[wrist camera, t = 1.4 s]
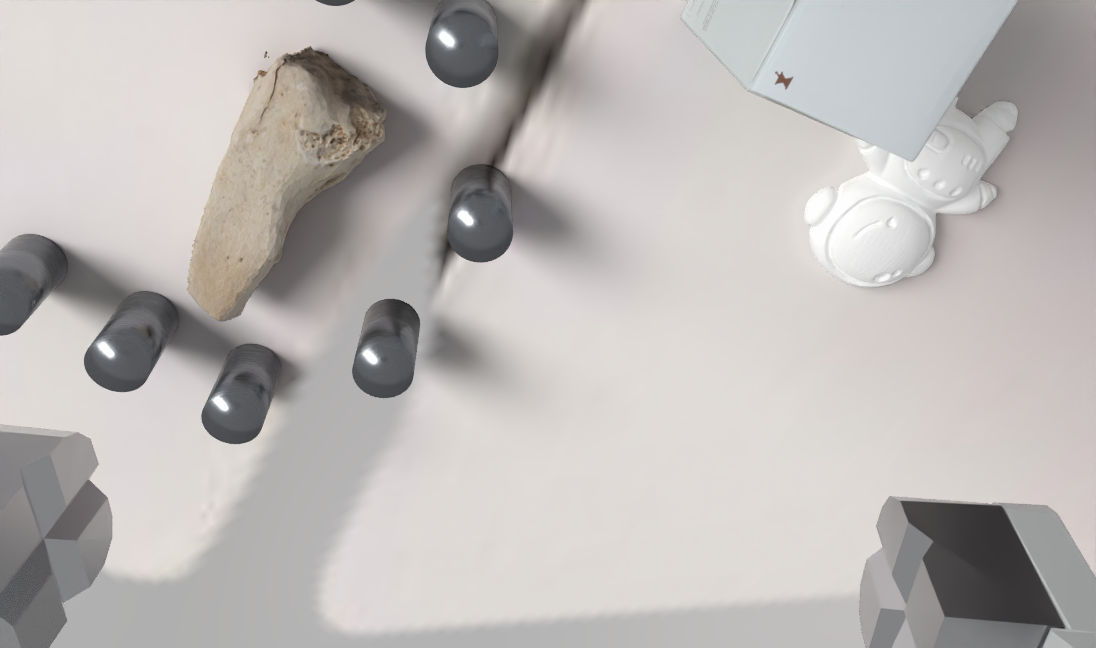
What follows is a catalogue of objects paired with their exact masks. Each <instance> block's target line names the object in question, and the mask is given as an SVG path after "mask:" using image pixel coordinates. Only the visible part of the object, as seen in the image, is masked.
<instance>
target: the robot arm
mask: <svg viewBox="0 0 1096 648" xmlns="http://www.w3.org/2000/svg"><path fill="white" fill-rule="evenodd" d="M98 465H99V464H98V460H97V457H96V454H95V451H94V448H93V445H92V442H91V439H90V438H88V437H86V436H84V435H82V434H80V433H78V432H70V431H60V430H51V429H41V428H31V427H21V426H11V425H1V424H0V648H49V647H50V645H51V644H52V642H53V641H54V640H55V638H56V637H57V635H58V634H59V632H60V631H61V629H62V628H63V626H64V625H65V623H66V622H67V617H66V612H65V606H64V602H65V601H67V600H69V599H70V598H72V597H74V596H75V595H77V594H79V593H80V592H82V591H84V590H85V589H87V588H89V587H90V586H91V584H92V583H93V581H94V580H95V578H96V577H97V575H98V574H99V572H100V570H101V569H102V567H103V566H104V563H105V560H106V557H107V553H108V550H109V547H110V543H111V540H112V513H111V509H110V505H109V501H108V498H107V497H106V496H105V495H104V494H103V493H102V492H101V491H100V490H99V489H98V488H97V487H96V486H95V485H94V484H93V483H92V482H91V481H90V480H89V479H90V477H91V476H92V474H93V472H94V471H95V469H96V468H97V466H98ZM876 527H877V530H878V534H879V537H880V540H881V543H882V546H883V548H881V549H880V550H879V551H877V552H876V553H875V554H873V555H872V556H871V557H869V558H868V559H867V560H866V564H865V568H864V572H863V576H862V580H861V584H860V602H859V603H860V605H859V615H860V623H861V631H862V636H863V639H864V643H865V647H866V648H1096V577H1095V575H1094V574H1093V572H1092V570H1091V569H1090V567H1089V565H1088V564H1087V562H1086V560H1085V559H1084V557H1083V555H1082V554H1081V552H1080V550H1079V549H1078V547H1077V545H1076V544H1075V542H1074V540H1073V539H1072V537H1071V535H1070V534H1069V532H1068V530H1067V529H1066V527H1065V525H1064V524H1063V522H1062V520H1061V519H1060V517H1059V515H1058V514H1057V512H1055V511H1054V510H1052V509H1051V508H1049V507H1048V506H1047V505H1031V504H1013V503H995V502H994V503H992V504H988V503H977V502H963V501H950V500H936V499H922V498H908V497H895V496H889V498H888V499H887V501H886V502H885V504H884V505H883V507H882V509H881V512H880V516H879V519H878V522H877V525H876Z"/></svg>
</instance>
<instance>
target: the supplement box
mask: <svg viewBox="0 0 1096 648" xmlns="http://www.w3.org/2000/svg"><path fill="white" fill-rule="evenodd" d="M1018 1H1019V0H689V1H688V3H687V5H686V7H685V10H684V11H683V13H682V15H681V20H682V21H683V22H684V23H685V24H686V25H687V26H688V27H689V29H690V30H691V31H692V32H693V33H694V34H695V35H696V36H697V37H698V38H699V39H700V40H701V41H702V42H703V43H704V45H705V46H706V47H707V48H708V49H709V50H710V51H711V52H712V53H713V54H714V55H715V56H716V58H717V59H718V60H719V61H720V62H721V63H722V64H723V65H724V66H725V67H726V68H727V69H728V71H729V72H730V73H731V74H732V75H733V76H734V77H735V78H736V79H737V80H738V81H739V82H740V83H741V85H742V86H743V87H744V88H745V89H746V90H747V91H749V92H751V93H753V94H756V95H758V96H760V97H762V98H765V99H767V100H769V101H772V102H774V103H776V104H779V105H781V106H783V107H786V108H788V109H790V110H793V111H795V112H797V113H799V114H802V115H804V116H806V117H809V118H811V119H813V120H816V121H818V122H820V123H823V124H825V125H827V126H830V127H832V128H834V129H837V130H839V131H841V132H844V133H846V134H848V135H851V136H853V137H855V138H858V139H860V140H862V141H865V142H867V143H869V144H872V145H874V146H877V147H879V148H881V149H883V150H886V151H888V152H890V153H892V154H895V155H897V156H899V157H901V158H903V159H905V160H908V161H910V162H913V161H915V159H916V158H917V156H918V155H919V153H920V152H921V150H922V149H923V147H924V145H925V144H926V142H927V141H928V139H929V138H930V136H931V135H932V133H933V131H934V130H935V128H936V127H937V125H938V124H939V122H940V120H941V119H942V117H943V116H944V114H945V113H946V111H947V110H948V108H949V107H950V105H951V104H952V102H953V101H954V99H955V98H956V96H957V94H958V93H959V91H960V90H961V88H962V87H963V85H964V84H965V82H966V81H967V79H968V77H969V76H970V74H971V73H972V71H973V70H974V68H975V67H976V65H977V64H978V62H979V60H980V59H981V57H982V56H983V54H984V53H985V51H986V50H987V48H988V47H989V45H990V43H991V42H992V40H993V39H994V37H995V36H996V34H997V33H998V31H999V30H1000V28H1001V27H1002V25H1003V24H1004V22H1005V21H1006V19H1007V18H1008V16H1009V15H1010V13H1011V12H1012V10H1013V8H1014V7H1015V5H1016V4H1017V2H1018Z"/></svg>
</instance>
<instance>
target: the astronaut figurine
mask: <svg viewBox="0 0 1096 648" xmlns="http://www.w3.org/2000/svg"><path fill="white" fill-rule="evenodd" d="M958 99H959V97H958V96H956V98H955V99H954V101H953V102H952V104H951V105H950V107H949V108H948V110H947V111H946V113H945V114H944V116H943V117H942V119H941V120H940V122H939V124H938V125H937V127H936V128H935V130H934V131H933V133H932V135H931V136H930V138H929V139H928V141H927V142H926V144H925V145H924V147H923V149H922V150H921V152H920V153H919V155H918V156H917V158H916V159H915V161H913V162H910V161H908V160H905V159H903V158H901V157H899V156H897V155H895V154H892V153H890V152H888V151H886V150H883V149H881V148H879V147H877V146H874V145H872V144H869V143H867V142H865V141H862V140H860V139H858V138H855V137H854V138H855V141H856V143H857V145H858V147H859V150H860V153H861V155H862V157H863V159H864V161H865V162H866V164H867V166H868V168H869V171H868V172H867V173H865V174H862V175H860V176H857V177H855V178H853V179H851V180H849V181H846V182H845V183H843V184H842V185H841V186H840V187H839V189H835V188H834V187H825V188H823V189H821V190H819V191H818V192H817V193H815V194H814V195H813V196H812V197H811V198H810V200H809V201H808V203H807V205H806V209H805V214H804V218H805V221H806V223H807V224H808V225H809V226H812V227H811V229H810V231H809V239H810V245H811V249H812V252H813V254H814V256H815V258H816V260H817V261H818V262H819V264H820V265H821V266H822V267H823V268H824V269H825V270H826V271H827V272H828V273H829V274H830V275H831V276H833V277H834V278H836V279H838V280H839V281H841V282H844V283H846V284H849V285H852V286H856V287H880V286H885V285H889V284H892V283H895V282H897V281H899V280H900V279H902V278H904V277H905V276H906V277H912V276H917V275H919V274H922V273H923V272H925V271H926V270H927V269H928V268H929V267H930V266H931V264H932V262H933V260H934V256H935V251H934V248H933V246H932V244H933V242H934V239H935V234H936V214H937V213H943V214H951V215H961V214H970V213H975V212H976V211H977V210H978V209H982V208H985V207H986V206H987V205H988V204H989V203H990V202H991V201H992V200H993V199H994V198H995V197H996V196H997V189H996V187H995V186H993V185H992V184H990V183H987V182H985V181H982V180H980V179H981V177H982V176H983V174H984V173H985V172H986V170H987V169H988V168H989V166H990V165H991V164H992V163H993V162H994V160H995V159H996V158H997V157H998V155H999V154H1000V153H1001V152H1002V150H1003V149H1004V147H1005V146H1006V144H1007V143H1008V141H1009V139H1010V138H1009V137H1008V136H1007V132H1008V131H1012V130H1014V128H1015V126H1016V121H1017V117H1018V109H1017V107H1016V106H1015V105H1014V104H1012V103H1011V102H1005V101H997V102H995V103H993V104H992V105H991V106H989V107H987V108H986V109H984V110H983V111H981V112H980V113H979V114H977V115H976V116H975V117H973V118H972V119H971V118H970V117H969V116H967V115H966V114H965V113H963V112H962V111H960V110H958V109H957V108H956V103H957V101H958Z"/></svg>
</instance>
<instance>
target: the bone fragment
mask: <svg viewBox="0 0 1096 648" xmlns="http://www.w3.org/2000/svg"><path fill="white" fill-rule="evenodd" d="M266 54H267V51H266V52H265V55H264V58H265V57H267V55H266ZM268 58H269V57H268ZM386 114H387V110H386V109H385V107H384V106H383V105H382V103H380V102H379V101H377V100H376V99H375V96H374V94H373V93H372V91H371V90H370V88H369V87H368V86H367V85H366V84H364V83H362V82H360V81H359V80H358V79H357V78H356V77H354V76H351V75H349V74H348V73H347V72H346V71H345V70H344V69H342V68H341V67H340V66H339V65H337V64H335V63H334V62H333V61H332V60H331V59H330V58H329V57H328V54H324V53H322V52H319V51H313V49H312V47H311V46H310V47H308V48H305V49H304V50H301V51H300V52H299V53H294V54H292V55H291V54H288V53H287V54H284V55H283V56H281V57H279V58H278V59H277V60H276V61H275V62H274V64H273V65H272V66H271V67H270V69H269V71H268V72H264V71H258V76H257V77H256V78H254V87H253V89H252V91H251V93H250V95H249V97H248V99H247V101H246V103H245V106H244V108H243V110H242V113H241V115H240V117H239V120H238V122H237V124H236V126H235V128H234V131H233V133H232V136H231V141H230V145H229V147H228V149H227V152H226V154H225V156H224V158H223V160H222V162H221V164H220V166H219V168H218V171H217V173H216V177H215V179H214V182H213V185H212V189H211V193H210V196H209V199H208V201H207V203H206V206H205V208H204V215H203V217H202V219H201V224H200V226H199V229H198V232H197V236H196V238H195V240H194V242H195V243H194V244H193V245H192V246H193V247H194V248H193V251H192V257H191V262H190V268H189V276H188V283H189V286H188V288H187V290H188V293H189V294H190V295H191V296H192V297H193V298H194V300H195V301H196V302H197V303H198V305H199V306H200V307H201V308H202V309H203V310H204V311H206V312H207V313H208V314H209V315H211V316H212V317H213V318H215V319H216V320H218V321H227V320H231V319H232V318H235V317H237V316H239V315H241V312H242V311H243V309H244V307H245V304H246V302H247V301H248V299H249V298H250V297H251V295H252V293H253V291H254V290H255V289H256V288H257V286H258V285H259V283H260V282H261V281H262V280H263V279H264V278H265V277H266V276H267V275H268V273H269V271H270V269H271V268H272V266H273V265H274V264H276V263H278V262H279V260H280V259H281V257H282V250H283V246H284V241H285V237H286V235H287V232H288V229H289V226H290V225H291V223H292V222H293V220H294V218H295V216H296V214H297V212H298V210H299V209H301V208H302V207H303V206H304V205H305V204H306V203H307V202H309V201H310V200H312V199H313V198H314V197H316V196H317V195H318V194H319V193H321V192H323V191H325V190H326V189H328V188H330V187H333V186H334V185H336V184H338V183H339V182H341V181H342V180H343V179H345V178H346V177H347V175H348V174H349V173H350V172H351V171H352V169H353V168H354V167H356V166H357V165H359V164H360V163H361V162H362V160H363V159H364V157H365V156H366V155H367V154H368V153H370V152H371V151H373V150H374V149H375V148H376V147H377V146H378V145H380V144H381V143H383V142H385V125H384V124H383V122H384V121H385V119H386Z"/></svg>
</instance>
